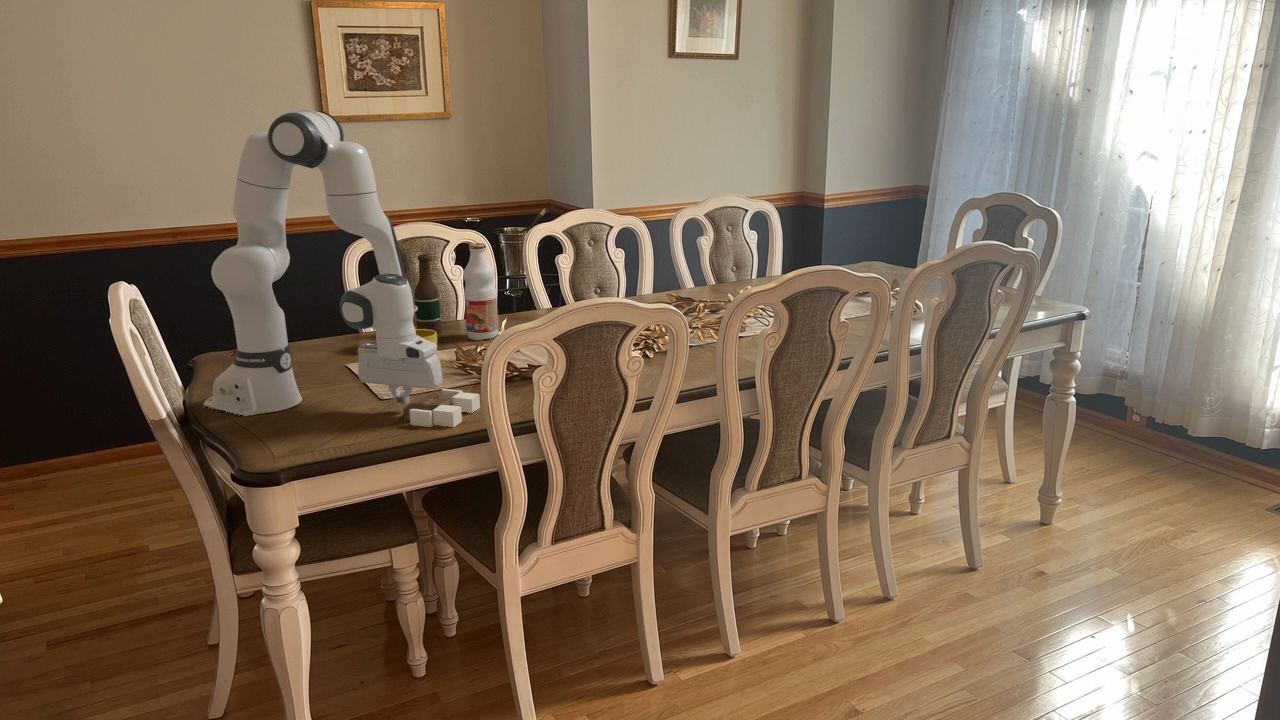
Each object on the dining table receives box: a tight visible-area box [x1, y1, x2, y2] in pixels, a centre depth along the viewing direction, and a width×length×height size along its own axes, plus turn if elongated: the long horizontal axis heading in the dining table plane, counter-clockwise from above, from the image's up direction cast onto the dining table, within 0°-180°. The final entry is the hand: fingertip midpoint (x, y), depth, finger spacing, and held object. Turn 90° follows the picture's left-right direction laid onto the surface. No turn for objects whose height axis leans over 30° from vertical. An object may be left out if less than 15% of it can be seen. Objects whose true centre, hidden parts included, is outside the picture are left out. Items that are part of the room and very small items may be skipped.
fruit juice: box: [463, 242, 499, 341], centre depth 275 cm, size 9×9×28 cm
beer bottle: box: [414, 254, 442, 335], centre depth 281 cm, size 8×8×24 cm
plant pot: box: [415, 328, 438, 346], centre depth 247 cm, size 10×10×10 cm
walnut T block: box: [402, 392, 452, 422], centre depth 214 cm, size 8×11×3 cm
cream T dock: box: [409, 388, 481, 428], centre depth 213 cm, size 10×16×4 cm, turn 163°
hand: (402, 402), depth 216 cm, fingers closed
